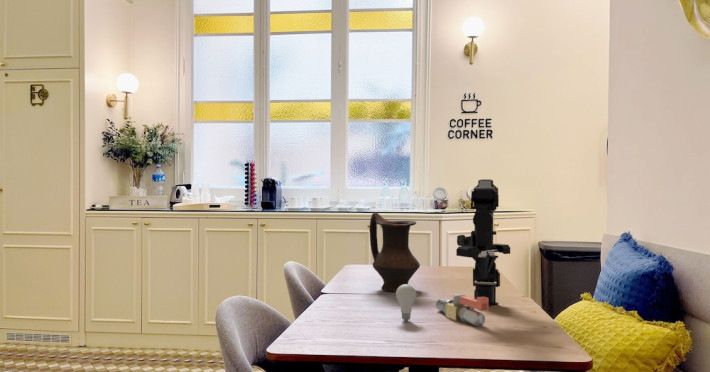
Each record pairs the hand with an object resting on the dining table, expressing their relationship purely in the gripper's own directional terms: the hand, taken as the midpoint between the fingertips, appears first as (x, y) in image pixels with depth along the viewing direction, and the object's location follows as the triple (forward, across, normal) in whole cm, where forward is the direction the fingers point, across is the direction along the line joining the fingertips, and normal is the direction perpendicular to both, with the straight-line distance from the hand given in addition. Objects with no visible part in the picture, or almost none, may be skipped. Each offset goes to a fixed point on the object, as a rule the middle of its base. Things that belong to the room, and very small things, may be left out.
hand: (483, 278), depth 172 cm
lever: (+8, +9, +2) cm, 12 cm away
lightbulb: (+12, +23, -9) cm, 28 cm away
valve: (+12, +8, -3) cm, 14 cm away
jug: (+12, -7, -52) cm, 54 cm away
